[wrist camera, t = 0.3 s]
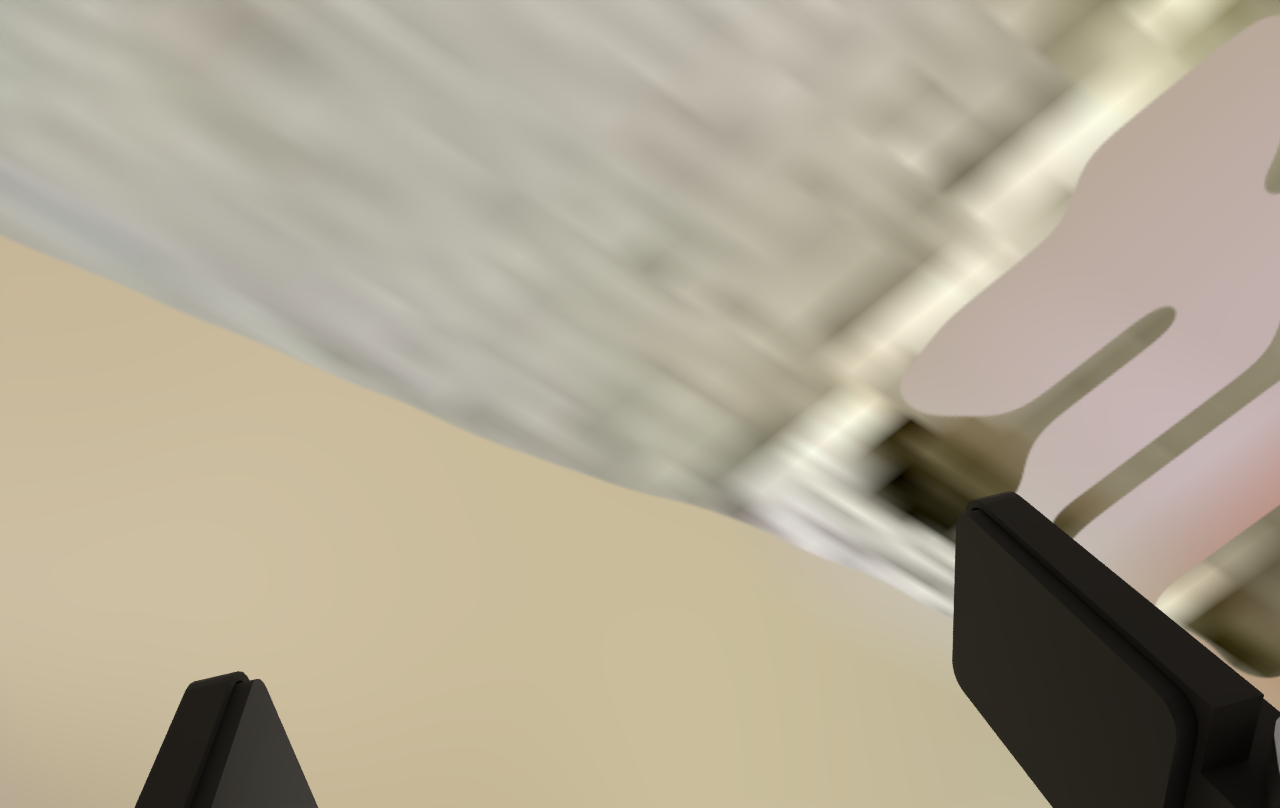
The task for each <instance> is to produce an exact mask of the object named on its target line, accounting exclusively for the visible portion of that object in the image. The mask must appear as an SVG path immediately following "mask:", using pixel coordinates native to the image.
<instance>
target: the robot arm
mask: <svg viewBox="0 0 1280 808" xmlns="http://www.w3.org/2000/svg"><path fill="white" fill-rule="evenodd" d="M952 658H953V659H952V662H953V669H954V673H955V676H956V679H957V681H958V683H959V685H960V687H961V689H962V690H963V691H964V692H965V694H966V695H967V697H968V698H969V699H970V701H971V702H972V703H973V704H974V706H975V707H976V708H977V710H978V711H979V712H980V713H981V715H982V716H983V717H984V718H985V720H986V721H987V723H988V724H989V725H990V727H991V728H992V729H993V730H994V732H995V733H996V734H997V736H998V737H999V738H1000V740H1001V741H1002V742H1003V743H1004V745H1005V746H1006V747H1007V749H1008V750H1009V751H1010V753H1011V754H1012V755H1013V756H1014V758H1015V759H1016V760H1017V762H1018V763H1019V764H1020V765H1021V767H1022V768H1023V769H1024V771H1025V772H1026V773H1027V775H1028V776H1029V777H1030V779H1031V780H1032V781H1033V782H1034V784H1035V785H1036V786H1037V788H1038V789H1039V790H1040V792H1041V793H1042V794H1043V795H1044V797H1045V798H1046V799H1047V801H1048V802H1049V803H1050V805H1051V806H1052V807H1053V808H1280V712H1279V711H1278V710H1277V709H1275V708H1274V707H1273V706H1272V705H1271V704H1269V703H1268V702H1267V701H1266V700H1265V699H1263V697H1264V695H1263V694H1262V693H1261V692H1260V691H1259V690H1258V689H1256V688H1255V687H1254V686H1253V685H1251V684H1250V683H1249V682H1248V681H1247V680H1245V679H1244V678H1243V677H1242V676H1240V675H1239V674H1238V673H1237V672H1235V671H1234V670H1233V669H1232V668H1231V667H1229V666H1228V665H1227V664H1226V663H1224V662H1223V661H1222V660H1221V659H1220V658H1218V657H1217V656H1216V655H1215V654H1213V653H1212V652H1211V651H1210V650H1208V649H1207V648H1206V647H1204V646H1203V645H1202V644H1201V643H1200V642H1199V641H1197V640H1196V639H1195V638H1194V637H1192V636H1191V635H1190V634H1189V633H1188V632H1186V631H1185V630H1184V629H1183V628H1181V627H1180V626H1179V625H1178V624H1177V623H1175V622H1174V621H1173V620H1172V619H1170V618H1169V617H1168V616H1167V615H1165V614H1164V613H1163V612H1162V611H1161V610H1159V609H1158V608H1157V607H1156V606H1154V605H1153V604H1152V603H1151V602H1149V601H1148V600H1147V599H1146V598H1144V597H1143V596H1142V595H1141V594H1140V593H1138V592H1137V591H1136V590H1135V589H1134V588H1132V587H1131V586H1130V585H1128V584H1127V583H1126V582H1125V581H1124V580H1122V579H1121V578H1120V577H1119V576H1117V575H1116V574H1115V573H1114V572H1112V571H1111V570H1110V569H1109V568H1108V567H1106V566H1105V565H1104V564H1103V563H1102V562H1100V561H1099V560H1098V559H1097V558H1095V557H1094V556H1093V555H1092V554H1090V553H1089V552H1088V551H1087V550H1086V549H1084V548H1083V547H1082V546H1081V545H1079V544H1078V543H1077V542H1076V541H1074V540H1073V539H1072V538H1071V537H1070V536H1068V535H1067V534H1066V533H1065V532H1064V531H1062V530H1061V529H1060V528H1059V527H1057V526H1056V525H1055V524H1054V523H1052V522H1051V521H1050V520H1049V519H1048V518H1046V517H1045V516H1044V515H1043V514H1041V513H1040V512H1039V511H1038V510H1036V509H1035V508H1034V507H1033V506H1031V505H1030V504H1029V503H1028V502H1027V501H1025V500H1024V499H1023V498H1022V497H1020V496H1019V495H1018V494H1016V493H1014V492H1004V493H1000V494H996V495H992V496H987V497H983V498H979V499H974V500H972V501H970V502H969V503H968V505H967V507H966V512H965V513H962V514H960V515H959V516H958V518H957V522H956V550H955V586H954V621H953V657H952ZM135 808H318V806H317V804H316V802H315V799H314V797H313V795H312V792H311V790H310V788H309V785H308V783H307V781H306V779H305V776H304V774H303V771H302V769H301V767H300V765H299V762H298V760H297V758H296V755H295V753H294V751H293V748H292V746H291V744H290V741H289V739H288V737H287V735H286V732H285V730H284V727H283V725H282V723H281V721H280V718H279V716H278V714H277V711H276V709H275V707H274V705H273V702H272V700H271V697H270V695H269V693H268V691H267V688H266V686H265V685H264V683H263V682H262V681H261V680H260V679H256V680H251V681H250V680H249V679H248V677H247V676H246V675H245V674H244V673H243V672H239V671H238V672H234V673H229V674H225V675H221V676H216V677H212V678H208V679H204V680H199V681H195V682H193V683H191V684H190V685H189V686H188V688H187V689H186V691H185V693H184V695H183V698H182V700H181V702H180V704H179V707H178V709H177V711H176V714H175V716H174V718H173V720H172V723H171V725H170V727H169V730H168V732H167V734H166V737H165V739H164V741H163V744H162V746H161V748H160V750H159V753H158V755H157V758H156V760H155V762H154V765H153V767H152V769H151V771H150V773H149V776H148V778H147V780H146V783H145V785H144V787H143V790H142V792H141V794H140V796H139V799H138V801H137V803H136V806H135Z"/></svg>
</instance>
